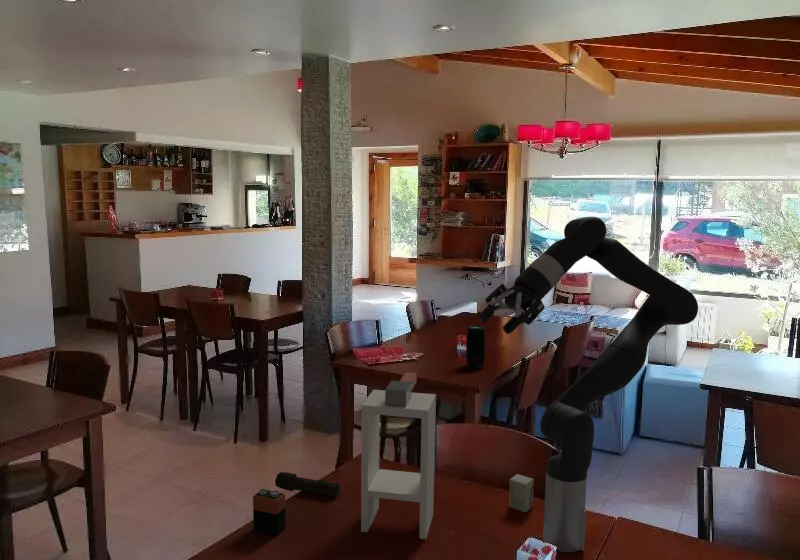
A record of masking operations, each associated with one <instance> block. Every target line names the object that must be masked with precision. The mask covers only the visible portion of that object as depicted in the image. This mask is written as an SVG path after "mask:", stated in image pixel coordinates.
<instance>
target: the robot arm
mask: <svg viewBox="0 0 800 560" xmlns="http://www.w3.org/2000/svg"><path fill="white" fill-rule="evenodd" d="M563 234H564V238H562V239H558V240H557V241H555V242H554V243H552V244H551V245H550V246H549V247H547V249H546V250H544V252H543V253H542V254H541V255H540V256H538V257H537V258H535V259H534V260H533V261H532V262H531V263H529V265H528V266H527V267H526V268H525V269H524V270H523V271H522V272H521V273H520V274H519V275H518V276H517V277H516V278H515V280H514V284H513V286H511V287H509V288H508V287H506V285H505V284H504V283H501V284H500V285H498V287H496V288H495V289H494V290H493V291H492V292H491V293H490V294H489V295H488V296H487V297H485V302H486V303H487V306H486V307H485V308H484V309H483V310H482V311H481V312H480V313H479V314H478V318H479V320H480V322H482V323H486V322H487V321H488V320H490V318H491V317H492V316H493V315H494V314H495V313H496V312H498V311H500V310H503V311H504V310H506V309H509V310H512V311H514V312H515V313H514V316H512V317H511V318H510V319H508V321H507V322H506V323H505V324H504V325H503V326H502V329H503V332H504V333H505V334H506V335H510V334H511V333H513V332H514V331H515V330H516V329H517V328H518V327H519V326H520V325H523V324H526V326H528V325H529V326H530V325H531V324H532V323H533V322H534V321H535V319H536V318H537V317H539V315H540V314H541V313H542V312H543V310H544V309H545V308H546V307H545V304H544V303H543V301H542V300H543V299H544V297H545V296H547V295H548V293H550V292H551V291H552V290H553V289H554V287H555V286H556V285H557V284H558V283H559V282H560V281H561V279H562V278H563V277H564V276H566V275H565V274H567V272H569V270H570V269H571V268H572V267H573V266H574V265H575V264H576V263H577V262H578V261H581V260H582V259H583V258H585V257H587V258H589V259H591V260H593V261H595V262H597V263H598V265H600V266H601V267H602V268H603V269H604V270H606V271H607V272H609V274H611V275H612V276H613V277H615V278H616V279H618V280H619V281H621V282H622V283H625V284H627V285H630V286H632V287H633V288H636V289H638V290H639V291H641V292H643V293H645V294H647V295H648V297H646V299H645V300H644V301H643V303H642V304H641V306H640V307H639V308H638V310H637V312H636V314H634V317H632V318H631V320H630V321H629V322H628V323H627V325H626V326H625V327H624V328H623V329H622V330H621V332H620V333H619V334H618V335H617V336H616V338H614V340H612V341H611V343H609V345H608V346H607V347H606V348H605V349H604V350H603V351H602V352H601V353H600V354H599V356H598V357H597V358H596V360H595V361H594V362H593V363H592V364H591V365H590V367H588V368H587V369H586V370H585V371H584V373H583V374H582V375H580V377H579V378H578V379H577V380H576V381H575V382H574V383H572V385H570V387H569V388H567V389H566V390H565V391H564V392H563V393H562V394H560V396H558V398H557V399H555V400H554V401H553V402H552V403H550V404H549V406H548V407H547V408H546V410H545V411H544V412H543V415H542V417H541V420H540V423H539V428H540V432H541V433H542V435H543V436H544V437H545V438H547V440H550V441H552V442H554V443H556V444H558V445H560V446H561V452H560V454H557V455H552V456H550V457H549V458H548V459H547V461H546V469H545V470H546V471H545V486H544V487H545V490H544V493H545V494H544V508H543V511H544V513H543V530H542V532H543V533H542V534H543V535H542V541H543V543H544V542H546V543H549V544H552V545H554V546H556V547H557V550H558V552H561V553H575V552H578V551H582V552H583V551H585V539H586V538H585V537H586V536H585V535H586V521H587V520H586V518H587V512H586V496H587V495H586V494H587V479H588V477H587V476H588V470H589V468H590V466H591V463H592V455H593V446H594V438H595V424H594V423H595V422H594V420H593V418H592V416H591V415H590V413H587V412H586V411H584V410H585V409H586V408H588V406H590V405H591V404H592V403H594V402H596V401H597V400H600V399H602V398H604V397H606V396H608V395H612V394H614V393H616V392H618V391H620V390H621V389H623V388H625V387H626V386H628V385H629V383H631V382H632V380H633V379H634V378H635V377H636V376H637V375H638V373H639V372H640V371H641V370H642V368H643V367H644V364H645V363H646V360H647V355H648V347H649V343H650V342H651V340H652V338H653V337H654V336H655V335H656V333H658V331H659V330H661V329H662V328H663V327H664V326H666V325H667V326H670V325H673V326H682V325H688V324H690V323H691V322H693V321H694V320H695V319H696V318H697V315H698V314H699V304H698V300H697V297H695V295H694V294H693V293H692V292H691V291H689V290H688V289H687V288H685V287H683V286H681V285H680V284H679V283H676V282H675V281H673V280H671V278H670V279H669V278H668V277H666V276H665V275H663V274H662V273H660V272H659V271H657V270H655V269H654V268H652V267H651V266H650V265H648V264H647V263H646V262H645V261H643V260H642V259H640V258H639V257H638V256H637V255H635V253H633V252H632V251H630V249H628V248H627V247H626V246H625V245H624V244H622V242H620V241H619V240H617V239H615V238H612V237H606V235H607V226H606V223H605V221H604V220H602V219H601V218H599V217H597V216H585V217H581V218H580V217H579V218H574V219H572V220H569V221H568V222H566V224H565V227H564V229H563ZM545 298H546V297H545ZM503 300H504V301H503ZM557 550H556V551H557Z"/></svg>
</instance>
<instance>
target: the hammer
mask: <svg viewBox="0 0 800 560" xmlns="http://www.w3.org/2000/svg"><path fill="white" fill-rule="evenodd" d="M417 375H418V374H417V372H405V373H403V376H402V377H401V378H400V380H391V381H390V382H389V383H388V385H387V386H386V388H385V389H384V391H385V406H396V407H406V406H407V405H408V403H409V401H410V399H411V393H412V391H413V389H414V387H415V385H416V384H417V380H418V379H417V378H418V377H417Z"/></svg>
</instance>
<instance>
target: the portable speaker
mask: <svg viewBox="0 0 800 560" xmlns="http://www.w3.org/2000/svg"><path fill="white" fill-rule="evenodd" d="M467 326H468V327H467V331H466V333H467V334H466V340H465V341H466V343H465V344H466V345H465V356H466V357H465V359H466V364H467V365H466V367H467V368H468V369H472V368H477V369H479V370H480V369H483V368H484V366H485V365H484V364H485V357H486V344H487V342H486V341H487V340H486V328H485V326H484V325H480V324H479V325H472V324H469V325H467Z"/></svg>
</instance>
